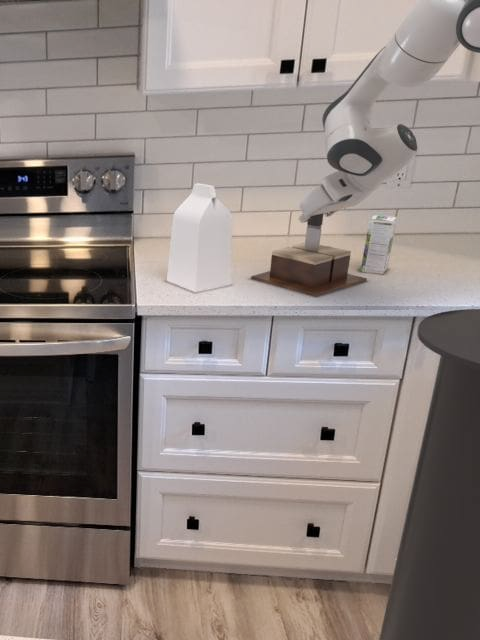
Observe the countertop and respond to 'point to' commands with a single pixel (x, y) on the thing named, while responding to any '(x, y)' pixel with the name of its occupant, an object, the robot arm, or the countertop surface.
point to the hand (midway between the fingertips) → (314, 217)
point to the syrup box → (378, 244)
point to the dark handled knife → (313, 233)
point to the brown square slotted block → (310, 270)
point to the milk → (201, 242)
